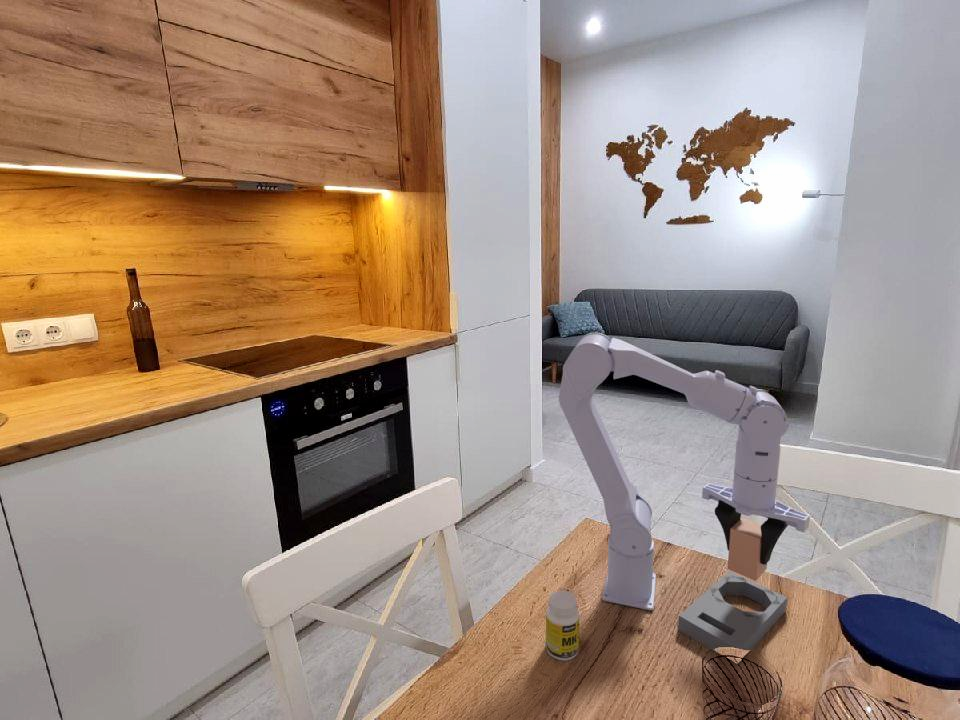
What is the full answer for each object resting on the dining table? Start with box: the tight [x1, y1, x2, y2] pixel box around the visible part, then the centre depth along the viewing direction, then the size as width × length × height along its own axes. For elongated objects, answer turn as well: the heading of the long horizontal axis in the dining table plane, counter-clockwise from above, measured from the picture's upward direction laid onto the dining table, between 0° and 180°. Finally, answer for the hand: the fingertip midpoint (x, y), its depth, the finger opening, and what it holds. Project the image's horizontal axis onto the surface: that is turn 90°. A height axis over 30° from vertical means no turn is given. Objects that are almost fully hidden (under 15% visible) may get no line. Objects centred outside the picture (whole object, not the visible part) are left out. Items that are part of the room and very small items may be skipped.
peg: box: [726, 517, 768, 582], centre depth 80 cm, size 4×4×7 cm
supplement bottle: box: [545, 589, 580, 662], centre depth 75 cm, size 5×5×8 cm
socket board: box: [677, 570, 788, 651], centre depth 80 cm, size 16×9×2 cm, turn 129°
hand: (748, 554), depth 80 cm, fingers closed on peg, 4 cm apart
